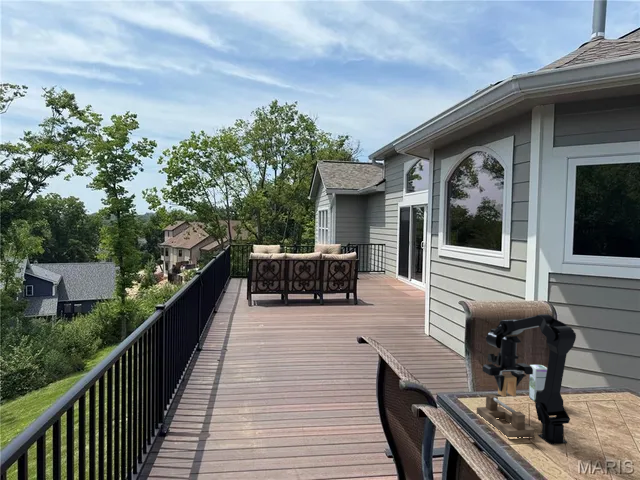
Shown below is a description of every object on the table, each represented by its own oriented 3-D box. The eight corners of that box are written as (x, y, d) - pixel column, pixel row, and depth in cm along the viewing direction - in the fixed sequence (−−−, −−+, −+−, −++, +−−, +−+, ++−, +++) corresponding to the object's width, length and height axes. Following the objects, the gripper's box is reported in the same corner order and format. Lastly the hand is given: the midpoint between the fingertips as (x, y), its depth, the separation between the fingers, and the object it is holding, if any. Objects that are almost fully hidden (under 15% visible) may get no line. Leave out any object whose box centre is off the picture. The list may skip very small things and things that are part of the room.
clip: (515, 396, 169) (516, 377, 169) (503, 397, 168) (504, 378, 168) (509, 392, 173) (510, 374, 173) (497, 393, 172) (498, 374, 172)
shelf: (534, 438, 149) (535, 415, 149) (508, 439, 147) (509, 416, 147) (499, 413, 169) (500, 393, 168) (476, 415, 167) (477, 394, 167)
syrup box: (548, 403, 181) (549, 368, 181) (534, 402, 181) (535, 368, 181) (541, 397, 187) (543, 364, 187) (528, 397, 187) (529, 364, 187)
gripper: (516, 345, 180) (515, 382, 180) (475, 346, 176) (474, 384, 176) (534, 353, 169) (533, 392, 169) (491, 354, 165) (490, 394, 165)
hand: (506, 390), depth 170 cm, fingers closed on clip, 5 cm apart
